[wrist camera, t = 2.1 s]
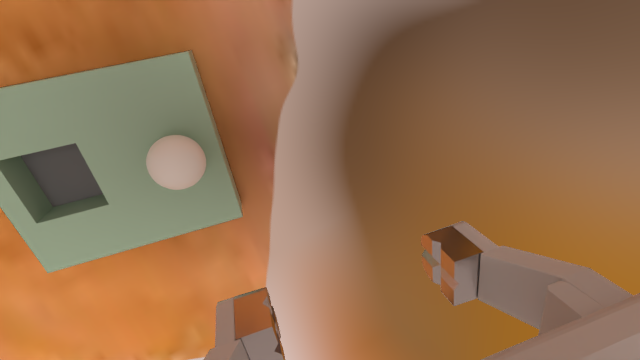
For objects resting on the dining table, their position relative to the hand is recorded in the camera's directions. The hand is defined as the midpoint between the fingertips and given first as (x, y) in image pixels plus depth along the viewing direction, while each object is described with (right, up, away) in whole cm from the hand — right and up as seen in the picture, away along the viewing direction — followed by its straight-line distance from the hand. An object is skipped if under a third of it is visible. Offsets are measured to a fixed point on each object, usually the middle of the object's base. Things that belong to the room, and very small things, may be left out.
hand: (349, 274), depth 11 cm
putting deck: (-17, +5, +17) cm, 25 cm away
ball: (-11, +4, +13) cm, 18 cm away
